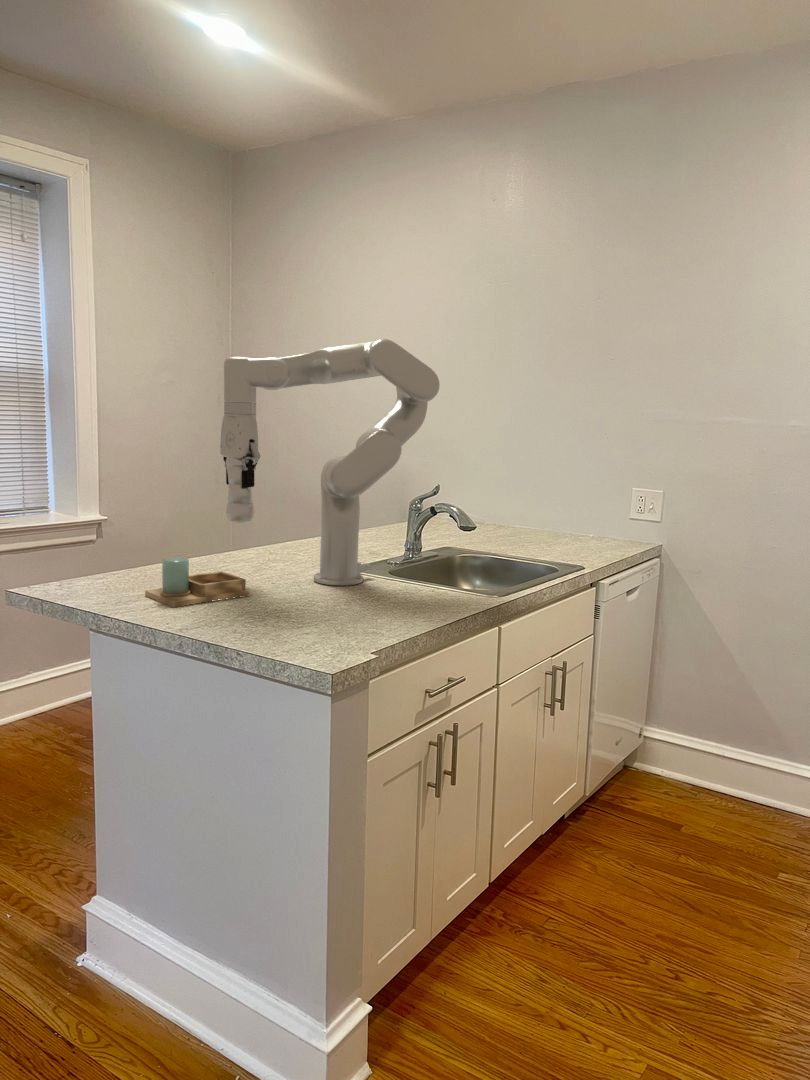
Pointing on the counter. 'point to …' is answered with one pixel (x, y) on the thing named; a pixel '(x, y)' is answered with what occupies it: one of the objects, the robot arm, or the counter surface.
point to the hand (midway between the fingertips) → (240, 484)
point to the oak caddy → (203, 589)
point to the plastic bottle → (238, 493)
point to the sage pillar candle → (175, 575)
